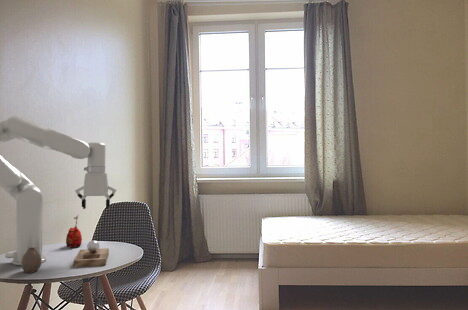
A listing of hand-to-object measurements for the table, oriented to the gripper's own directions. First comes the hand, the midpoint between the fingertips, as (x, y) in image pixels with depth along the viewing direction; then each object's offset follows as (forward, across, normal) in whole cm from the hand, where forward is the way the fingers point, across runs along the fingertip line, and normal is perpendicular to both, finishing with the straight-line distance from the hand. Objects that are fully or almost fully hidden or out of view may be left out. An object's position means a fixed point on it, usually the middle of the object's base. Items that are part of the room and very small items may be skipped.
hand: (95, 208), depth 180 cm
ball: (+15, 0, -7) cm, 17 cm away
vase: (+21, -21, -22) cm, 37 cm away
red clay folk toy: (+20, -11, +16) cm, 29 cm away
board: (+20, 0, -11) cm, 23 cm away
